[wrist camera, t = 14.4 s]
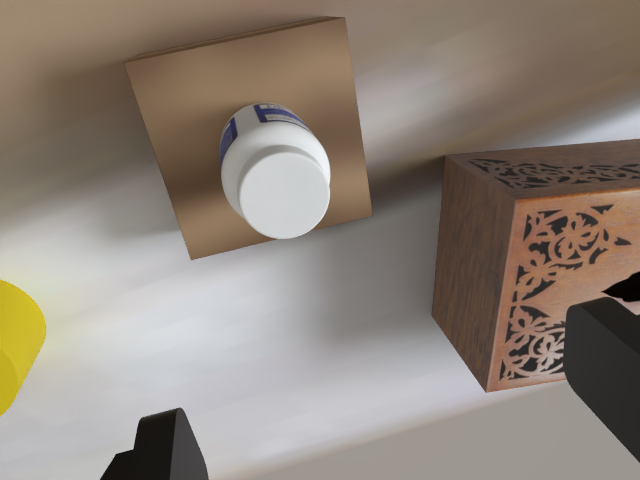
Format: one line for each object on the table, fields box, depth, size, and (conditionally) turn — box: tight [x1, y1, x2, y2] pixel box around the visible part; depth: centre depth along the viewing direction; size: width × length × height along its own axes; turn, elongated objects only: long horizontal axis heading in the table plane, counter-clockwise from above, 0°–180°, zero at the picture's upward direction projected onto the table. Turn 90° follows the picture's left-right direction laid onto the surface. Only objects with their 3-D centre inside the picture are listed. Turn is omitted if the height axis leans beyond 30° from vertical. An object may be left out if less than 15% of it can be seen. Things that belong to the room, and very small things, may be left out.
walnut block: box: [124, 16, 373, 260], centre depth 31 cm, size 12×12×5 cm
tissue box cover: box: [432, 139, 640, 393], centre depth 38 cm, size 26×14×10 cm, turn 92°
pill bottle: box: [219, 102, 330, 239], centre depth 25 cm, size 5×5×9 cm
